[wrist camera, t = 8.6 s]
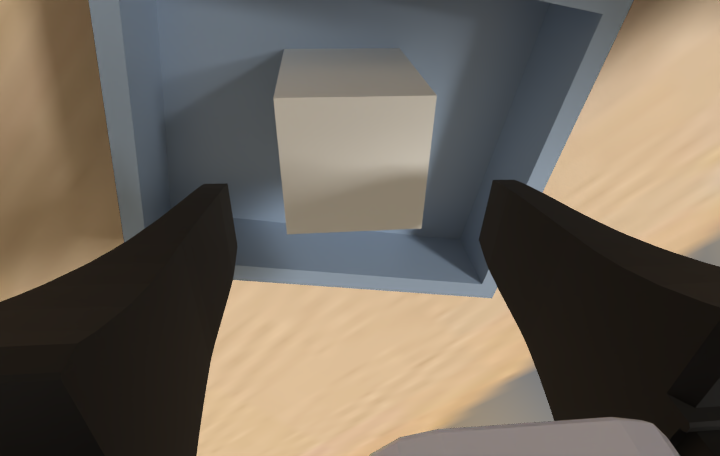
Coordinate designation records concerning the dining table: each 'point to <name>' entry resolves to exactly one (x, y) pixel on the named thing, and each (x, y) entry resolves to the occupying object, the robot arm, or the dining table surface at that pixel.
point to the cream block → (352, 139)
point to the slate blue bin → (259, 135)
